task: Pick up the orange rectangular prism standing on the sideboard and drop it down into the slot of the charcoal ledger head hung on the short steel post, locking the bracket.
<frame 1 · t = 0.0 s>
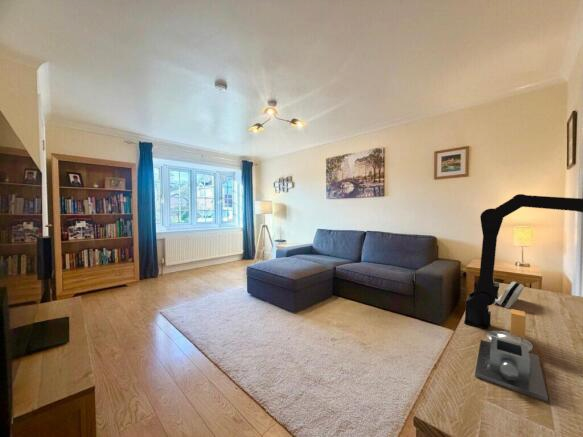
orange rectangular prism: (516, 346, 71), on the table
bracket: (508, 367, 62), on the table
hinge: (509, 303, 103), on the table
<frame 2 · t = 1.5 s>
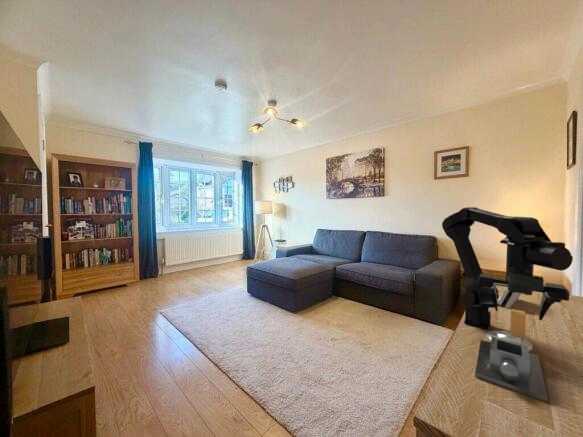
hand: (517, 315, 71), 9 cm above the table, tool pointing down, fingers open, 9 cm apart
nothing on the table moved.
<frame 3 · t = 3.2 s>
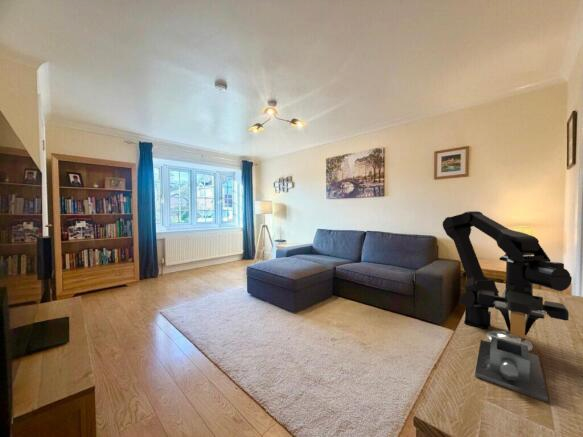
hand: (517, 332, 71), 4 cm above the table, tool pointing down, fingers closed on orange rectangular prism, 3 cm apart
orange rectangular prism: (516, 346, 71), on the table, touching gripper
everything else where it was.
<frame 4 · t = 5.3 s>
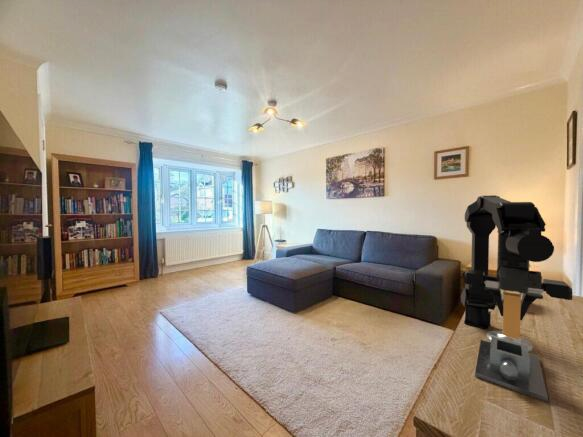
hand: (511, 317, 60), 13 cm above the table, tool pointing down, fingers closed on orange rectangular prism, 3 cm apart
orange rectangular prism: (510, 334, 60), point 9 cm above the table, touching gripper
everything else where it was.
when the fingers open (7 cm above the table, at t = 7.3 s): orange rectangular prism drops 2 cm, resting on bracket.
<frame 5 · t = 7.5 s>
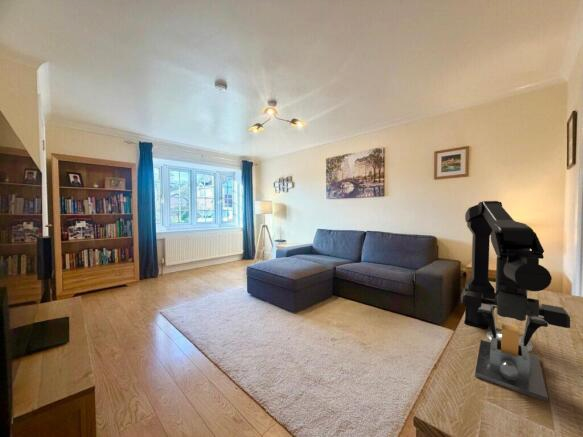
hand: (509, 341, 60), 7 cm above the table, tool pointing down, fingers open, 5 cm apart
orange rectangular prism: (508, 367, 60), point 1 cm above the table, touching bracket
everything else where it was.
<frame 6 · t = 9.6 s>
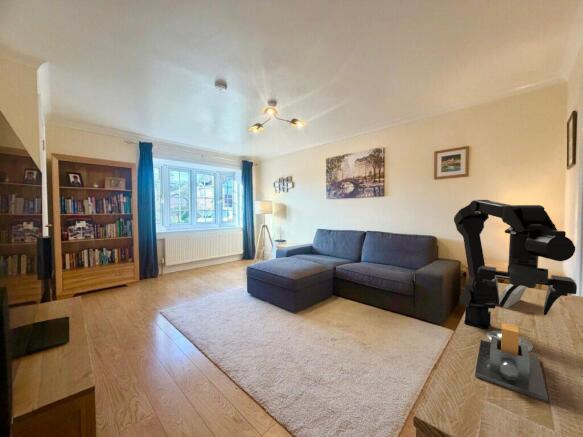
hand: (520, 309, 66), 13 cm above the table, tool pointing down, fingers open, 9 cm apart
nothing on the table moved.
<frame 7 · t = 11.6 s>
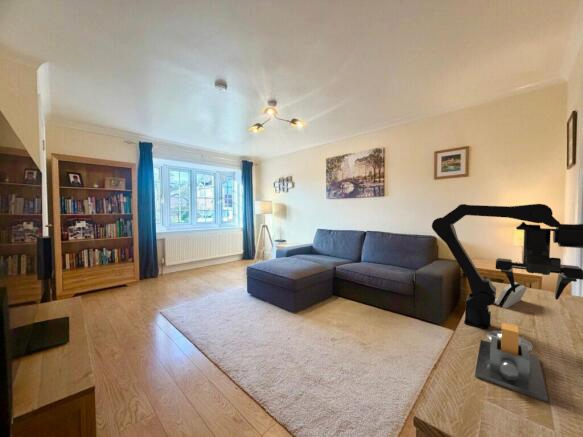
hand: (534, 295, 75), 13 cm above the table, tool pointing down, fingers open, 9 cm apart
nothing on the table moved.
at the end: orange rectangular prism 0.0 cm from the target spot on the bracket, point 1.0 cm above the bracket's base; orange rectangular prism tilted 0°; the gripper is holding nothing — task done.
